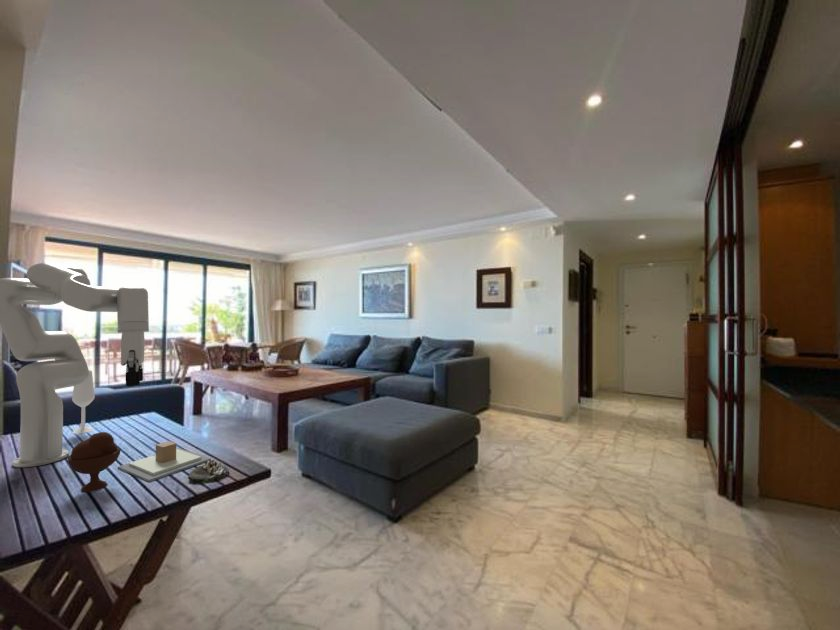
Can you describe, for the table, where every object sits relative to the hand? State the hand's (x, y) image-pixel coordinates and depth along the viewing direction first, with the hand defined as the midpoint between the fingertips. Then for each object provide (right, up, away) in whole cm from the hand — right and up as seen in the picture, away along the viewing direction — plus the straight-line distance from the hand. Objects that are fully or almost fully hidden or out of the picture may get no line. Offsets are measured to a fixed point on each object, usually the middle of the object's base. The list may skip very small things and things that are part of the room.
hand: (134, 383), depth 112 cm
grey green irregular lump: (+24, -27, -3) cm, 37 cm away
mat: (+7, -27, +4) cm, 28 cm away
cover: (+7, -26, +4) cm, 27 cm away
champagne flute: (-48, -26, +34) cm, 64 cm away
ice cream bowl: (-2, -27, -12) cm, 29 cm away
